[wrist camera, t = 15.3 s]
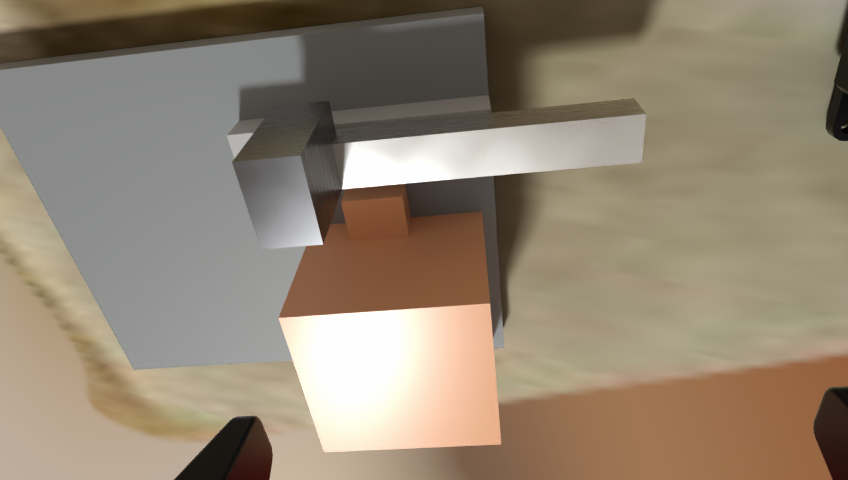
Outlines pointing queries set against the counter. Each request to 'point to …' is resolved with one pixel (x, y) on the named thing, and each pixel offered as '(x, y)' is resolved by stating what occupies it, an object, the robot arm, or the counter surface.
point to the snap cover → (395, 328)
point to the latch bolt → (413, 156)
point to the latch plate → (223, 166)
